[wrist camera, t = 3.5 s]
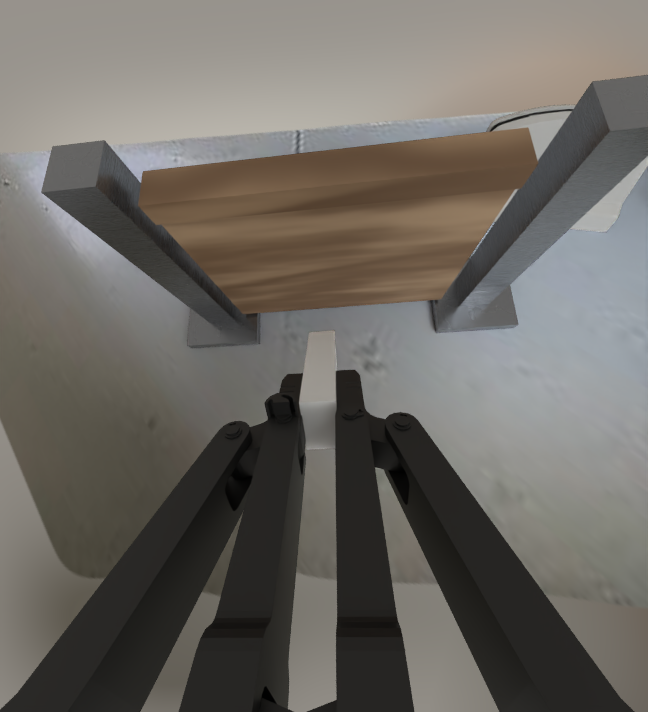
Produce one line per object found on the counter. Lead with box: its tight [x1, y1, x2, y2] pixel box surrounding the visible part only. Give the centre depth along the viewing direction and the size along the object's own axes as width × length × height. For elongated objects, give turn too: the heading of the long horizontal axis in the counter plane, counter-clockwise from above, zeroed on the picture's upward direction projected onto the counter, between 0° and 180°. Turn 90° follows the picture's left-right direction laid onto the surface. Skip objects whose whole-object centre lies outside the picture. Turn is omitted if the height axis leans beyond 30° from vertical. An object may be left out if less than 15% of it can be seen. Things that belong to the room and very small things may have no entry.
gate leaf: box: [138, 127, 538, 314], centre depth 24 cm, size 3×22×17 cm, turn 93°
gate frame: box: [41, 75, 648, 348], centre depth 24 cm, size 8×36×20 cm, turn 92°
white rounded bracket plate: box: [486, 105, 648, 232], centre depth 31 cm, size 17×5×10 cm, turn 80°
